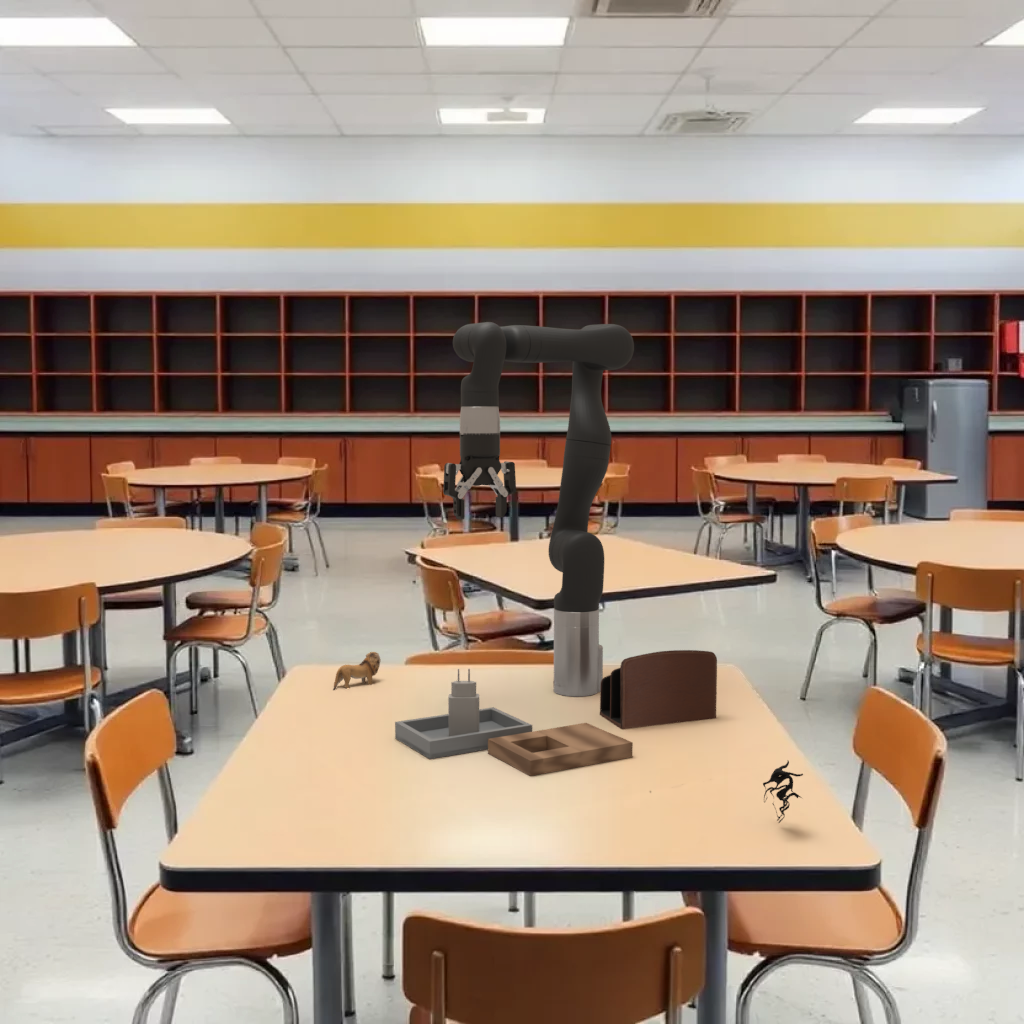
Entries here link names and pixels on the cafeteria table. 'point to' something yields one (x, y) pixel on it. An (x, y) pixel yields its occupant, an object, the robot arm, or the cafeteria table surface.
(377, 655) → the lion figurine
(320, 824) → the cafeteria table surface
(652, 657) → the letter holder
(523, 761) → the dock board
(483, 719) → the tray
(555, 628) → the robot arm
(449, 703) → the power adapter
